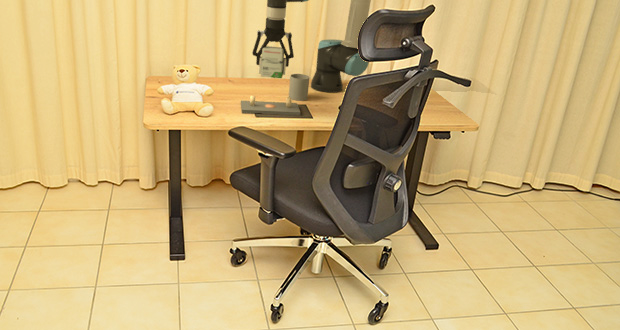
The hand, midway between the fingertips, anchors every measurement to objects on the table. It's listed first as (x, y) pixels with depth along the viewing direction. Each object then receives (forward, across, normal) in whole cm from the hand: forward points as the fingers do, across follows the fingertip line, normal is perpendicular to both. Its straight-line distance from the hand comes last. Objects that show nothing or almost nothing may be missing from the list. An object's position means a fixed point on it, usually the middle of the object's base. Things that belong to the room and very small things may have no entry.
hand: (271, 73), depth 246 cm
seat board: (+15, 0, 0) cm, 15 cm away
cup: (+16, -14, -18) cm, 28 cm away
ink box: (+1, 0, 0) cm, 1 cm away
